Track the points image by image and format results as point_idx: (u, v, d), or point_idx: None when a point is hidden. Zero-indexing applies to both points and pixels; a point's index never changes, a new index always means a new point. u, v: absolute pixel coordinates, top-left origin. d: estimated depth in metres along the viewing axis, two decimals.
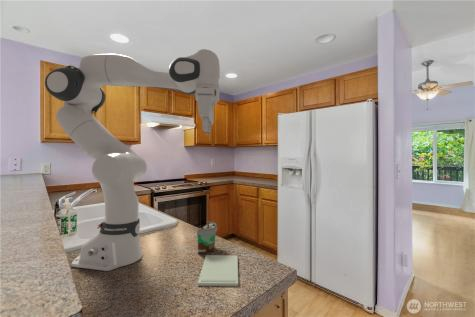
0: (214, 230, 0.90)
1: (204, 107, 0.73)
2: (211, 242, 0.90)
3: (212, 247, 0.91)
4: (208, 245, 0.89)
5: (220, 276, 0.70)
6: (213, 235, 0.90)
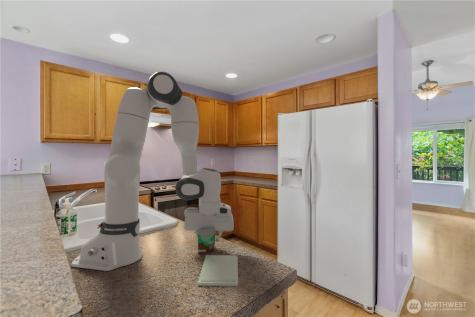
0: (214, 230, 0.90)
1: (233, 223, 0.93)
2: (211, 242, 0.90)
3: (212, 247, 0.91)
4: (208, 245, 0.89)
5: (220, 276, 0.70)
6: (213, 235, 0.90)
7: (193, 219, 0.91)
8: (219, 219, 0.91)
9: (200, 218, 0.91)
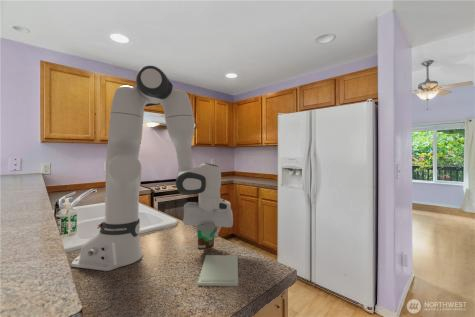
0: (214, 226, 0.89)
1: None
2: (211, 238, 0.89)
3: (212, 243, 0.90)
4: (208, 241, 0.88)
5: (220, 276, 0.70)
6: (213, 231, 0.90)
7: (192, 214, 0.90)
8: (219, 214, 0.90)
9: (199, 213, 0.90)
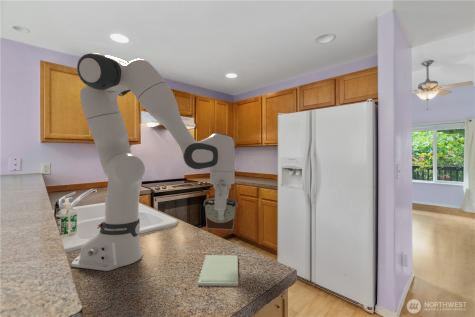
0: None
1: None
2: None
3: None
4: None
5: (220, 276, 0.70)
6: None
7: None
8: None
9: None
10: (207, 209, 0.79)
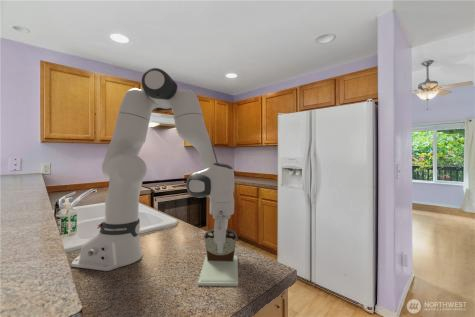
0: None
1: None
2: None
3: None
4: None
5: (220, 276, 0.70)
6: None
7: None
8: None
9: None
10: (207, 242, 0.80)
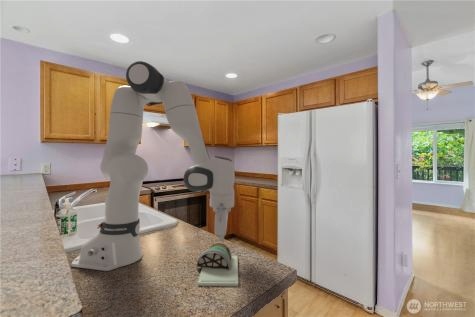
0: (219, 251, 0.75)
1: None
2: (222, 248, 0.80)
3: (222, 245, 0.83)
4: (226, 250, 0.81)
5: (220, 276, 0.70)
6: (219, 249, 0.78)
7: None
8: None
9: None
10: None
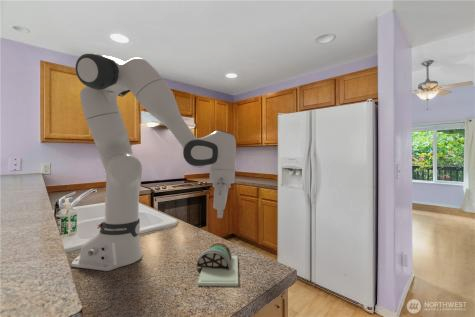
0: (219, 251, 0.75)
1: None
2: (222, 248, 0.80)
3: (222, 245, 0.83)
4: (226, 250, 0.81)
5: (220, 276, 0.70)
6: (219, 249, 0.78)
7: None
8: None
9: None
10: None
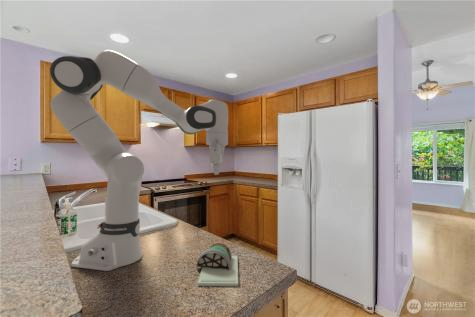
0: (219, 251, 0.75)
1: None
2: (222, 248, 0.80)
3: (222, 245, 0.83)
4: (226, 250, 0.81)
5: (220, 276, 0.70)
6: (219, 249, 0.78)
7: None
8: (221, 151, 0.96)
9: None
10: None
